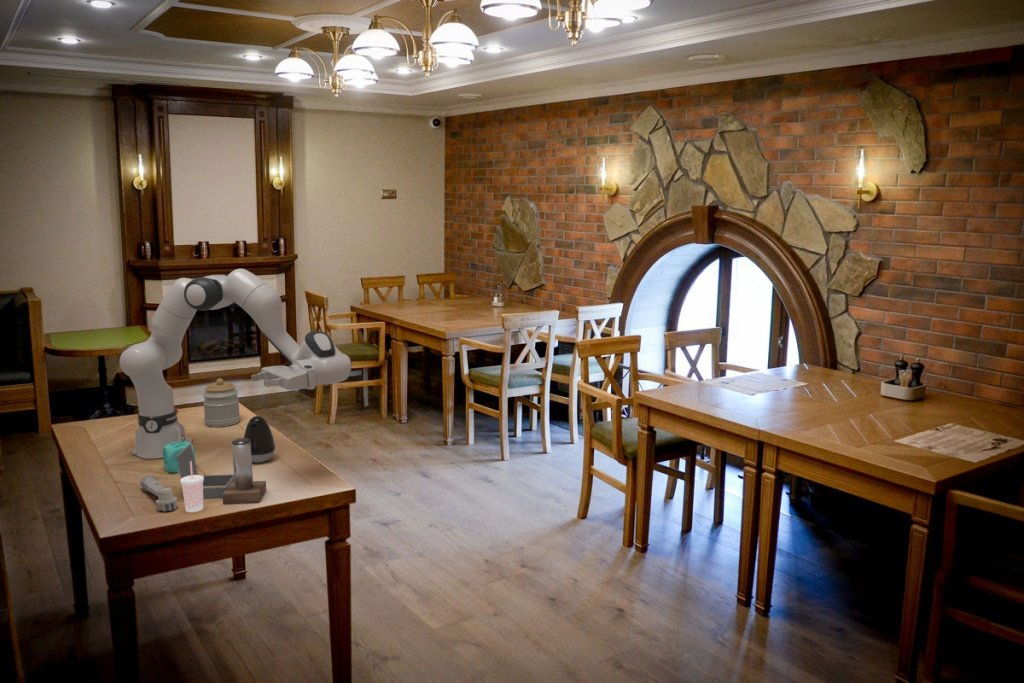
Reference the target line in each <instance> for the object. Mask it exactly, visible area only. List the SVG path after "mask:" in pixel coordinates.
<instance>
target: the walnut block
mask: <svg viewBox="0 0 1024 683" xmlns="http://www.w3.org/2000/svg"><path fill="white" fill-rule="evenodd" d="M265 491H266V492H267V482H266V480H255V481H254V480H253V488H251V489H248V490H236V489H235V482H231V483H230V484H229V486H228V487H227V488H226V490H225V491H224V492H223V494H222V505H235V504H237V505H238V504H239V505H240V503H243V504H259V503H260V502H261V500H262V499H261V498H263V497H264V495H265V494H266V492H265ZM264 493H265V494H264ZM263 494H264V495H263ZM262 496H263V497H262ZM259 501H260V502H259ZM258 502H259V503H258Z"/></svg>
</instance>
